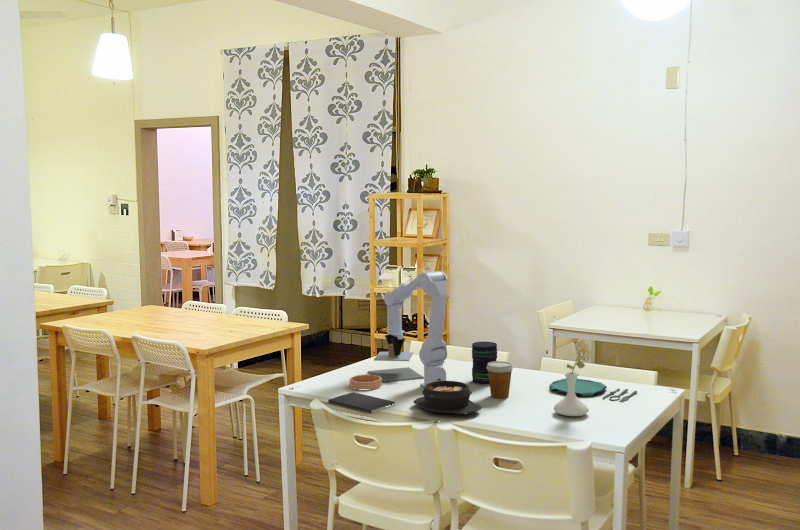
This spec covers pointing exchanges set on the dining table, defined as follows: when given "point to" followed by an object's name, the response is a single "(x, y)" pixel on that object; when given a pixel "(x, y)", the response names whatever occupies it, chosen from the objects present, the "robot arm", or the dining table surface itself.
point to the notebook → (361, 402)
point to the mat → (396, 374)
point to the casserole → (447, 398)
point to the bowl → (365, 382)
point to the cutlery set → (587, 388)
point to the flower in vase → (571, 402)
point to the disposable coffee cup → (499, 378)
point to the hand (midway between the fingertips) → (395, 353)
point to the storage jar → (482, 361)
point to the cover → (393, 355)
